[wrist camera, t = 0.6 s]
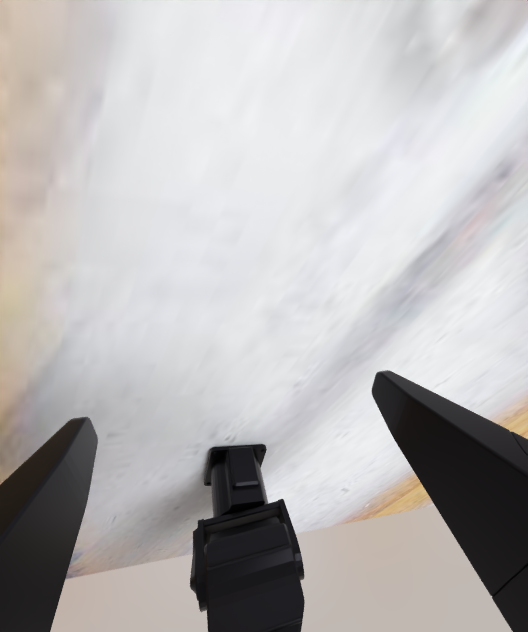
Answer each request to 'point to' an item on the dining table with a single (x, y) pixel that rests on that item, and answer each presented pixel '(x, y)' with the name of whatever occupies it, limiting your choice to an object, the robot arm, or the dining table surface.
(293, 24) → the dining table surface
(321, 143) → the dining table surface
